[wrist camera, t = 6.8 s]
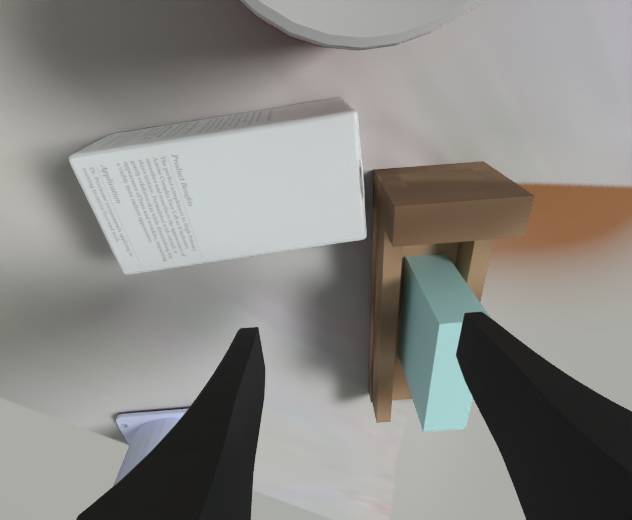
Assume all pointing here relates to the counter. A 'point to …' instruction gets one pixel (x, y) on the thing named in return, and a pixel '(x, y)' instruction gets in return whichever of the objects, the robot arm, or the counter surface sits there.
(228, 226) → the skincare box
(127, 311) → the counter surface
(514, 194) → the track
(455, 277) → the door panel
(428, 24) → the canned food
